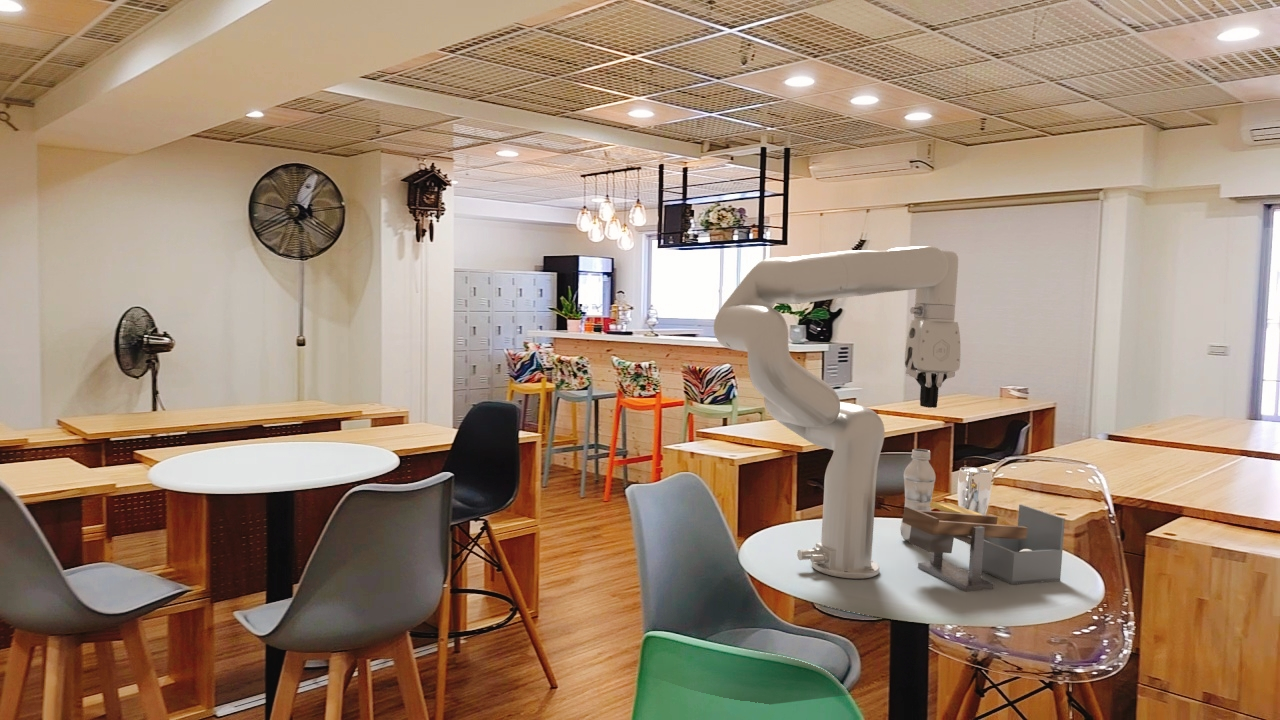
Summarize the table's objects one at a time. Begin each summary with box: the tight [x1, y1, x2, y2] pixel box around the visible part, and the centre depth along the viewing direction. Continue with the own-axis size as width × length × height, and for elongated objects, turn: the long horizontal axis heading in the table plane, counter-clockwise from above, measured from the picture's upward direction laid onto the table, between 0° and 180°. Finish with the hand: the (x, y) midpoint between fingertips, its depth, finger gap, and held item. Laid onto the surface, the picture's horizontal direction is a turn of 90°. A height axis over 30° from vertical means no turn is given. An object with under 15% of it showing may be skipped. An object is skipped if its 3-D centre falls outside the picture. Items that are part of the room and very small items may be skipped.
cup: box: [982, 504, 1066, 585], centre depth 169 cm, size 11×11×12 cm
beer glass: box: [956, 466, 992, 538], centre depth 195 cm, size 7×7×15 cm
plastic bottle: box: [899, 448, 937, 542], centre depth 188 cm, size 6×7×20 cm
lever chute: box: [901, 500, 1028, 554], centre depth 169 cm, size 21×19×6 cm
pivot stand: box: [917, 526, 995, 592], centre depth 164 cm, size 6×14×11 cm, turn 18°
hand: (928, 406), depth 173 cm, fingers closed
